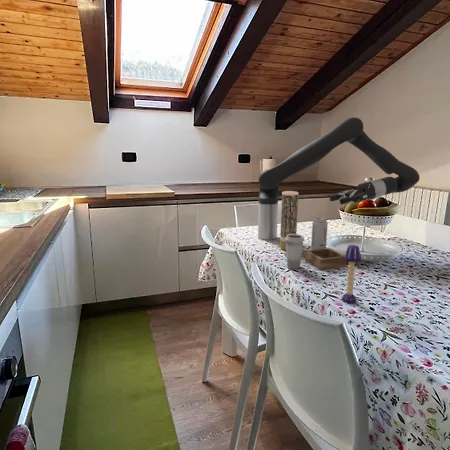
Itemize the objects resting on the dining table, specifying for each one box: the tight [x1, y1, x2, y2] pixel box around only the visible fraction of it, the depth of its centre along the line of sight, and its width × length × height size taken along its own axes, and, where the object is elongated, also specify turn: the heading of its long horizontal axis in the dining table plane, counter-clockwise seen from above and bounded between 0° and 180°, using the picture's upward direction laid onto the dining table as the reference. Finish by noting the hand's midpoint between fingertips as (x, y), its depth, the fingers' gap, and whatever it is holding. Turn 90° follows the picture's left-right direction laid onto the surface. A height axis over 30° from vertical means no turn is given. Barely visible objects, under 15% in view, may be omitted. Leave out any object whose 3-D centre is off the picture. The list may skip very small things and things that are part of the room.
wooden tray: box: [304, 247, 347, 271], centre depth 132 cm, size 11×11×4 cm
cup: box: [285, 233, 305, 270], centre depth 128 cm, size 7×7×12 cm
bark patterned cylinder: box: [279, 190, 300, 251], centre depth 148 cm, size 7×7×25 cm
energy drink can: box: [310, 216, 328, 251], centre depth 143 cm, size 6×6×15 cm
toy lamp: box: [341, 244, 362, 304], centre depth 100 cm, size 5×5×17 cm
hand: (334, 200), depth 140 cm, fingers open, 8 cm apart
